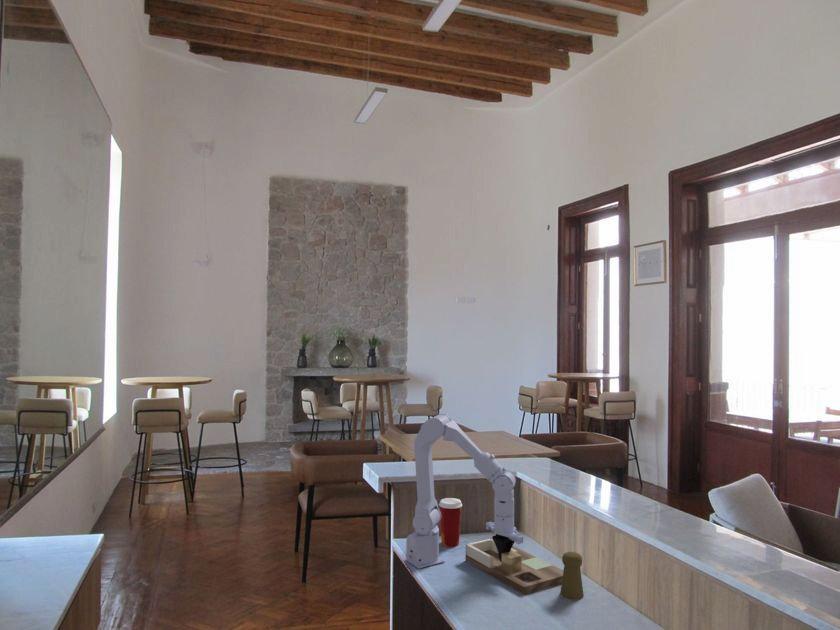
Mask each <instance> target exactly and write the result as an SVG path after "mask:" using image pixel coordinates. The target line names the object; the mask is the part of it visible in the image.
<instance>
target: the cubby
mask: <svg viewBox="0 0 840 630" xmlns="http://www.w3.org/2000/svg"><path fill="white" fill-rule="evenodd" d="M488 550H493V551H495V552H497V553H498V551H497V547H496V545H495V543H494V541H493V539H492V538H488V539H483V540H480V541H475V542H474V541H473V542H470V543H466V544H465V556H466V555H468V556H469V557H471V558H473V559H475V560H477V561H478V562H480V563H482V564H484V565H485V566H487V567H489V568H493V557H492V556H490V555H488V554H487V553H485V552H484V551H488ZM511 551H514V552H516V553H517V551H516V550H514V549H512V548H511Z"/></svg>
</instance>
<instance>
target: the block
mask: <svg viewBox="0 0 840 630" xmlns="http://www.w3.org/2000/svg"><path fill="white" fill-rule="evenodd" d="M502 568H503V569H505V570H507V571H509V572H515V571H518V570H522V555H520V554H518V553H516V552H514V551H510V552H506V553H502Z"/></svg>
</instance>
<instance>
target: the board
mask: <svg viewBox="0 0 840 630" xmlns="http://www.w3.org/2000/svg"><path fill="white" fill-rule="evenodd" d="M512 549H514V550H516V551H517V553H518V554H520V555H522V561H524V560H527V559H531V558H535V557H536V556H535V555H533V554H531V553H528V552H527V551H525V550H523V549H521V548H519V547H516V546H514V545H513V546H512ZM484 552H485V553H487V554H488V555H490V556H492V557H493V568H489V567H487V566H485V565H484V564H482V563H480V562H478V561H477V560H475V559H473V558H471V557H469V556H468V555H466V554H465V562H466V563H469V564H470V565H472V566H473V567H475V568H477V569H479V570H480V571H482V572H483V573H486V574H488V575H489V576H491V577H492V576H493V577H492V578H494V579H496V580H497V581H499V582H501V583H503V584H504V585H506V586H508V587H510V588H512V589H513V590H516V591H517V592H519V593H520V594H522V595H528V594H531V593H534V592H537V591H541V590H545V589H547V588H551V587H554V586H558V585H562V579H563V572H564V569H561V568H560V567H558V566H556V565H553V564H551V566H548V567H544V568H540V569H537V570H535V569H533V568H532V567H530V566H528V565H526V564H524V563H522V570H518V571H515V572H509V571H507V570H505V569H503V568H502V562H501V561H500V559H499V554H498V553H497V552H495V551H493V550H488V551H484ZM526 580H530V582H526Z"/></svg>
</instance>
